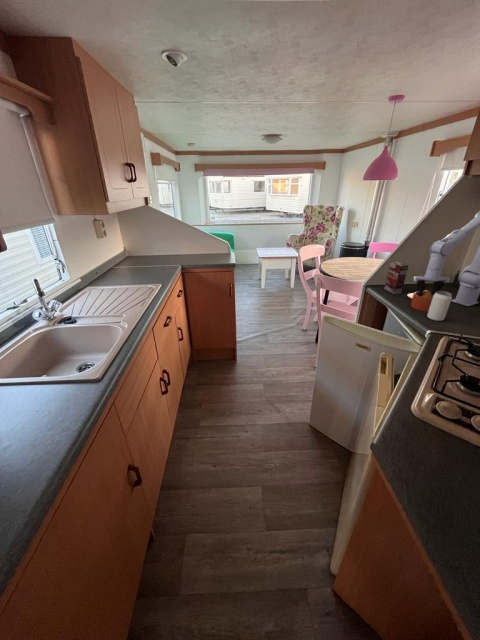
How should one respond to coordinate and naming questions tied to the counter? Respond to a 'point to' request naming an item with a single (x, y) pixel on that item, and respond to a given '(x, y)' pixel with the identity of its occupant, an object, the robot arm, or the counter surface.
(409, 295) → the lid
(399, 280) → the supplement box
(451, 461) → the counter surface
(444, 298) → the can
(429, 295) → the bun
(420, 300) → the pot
